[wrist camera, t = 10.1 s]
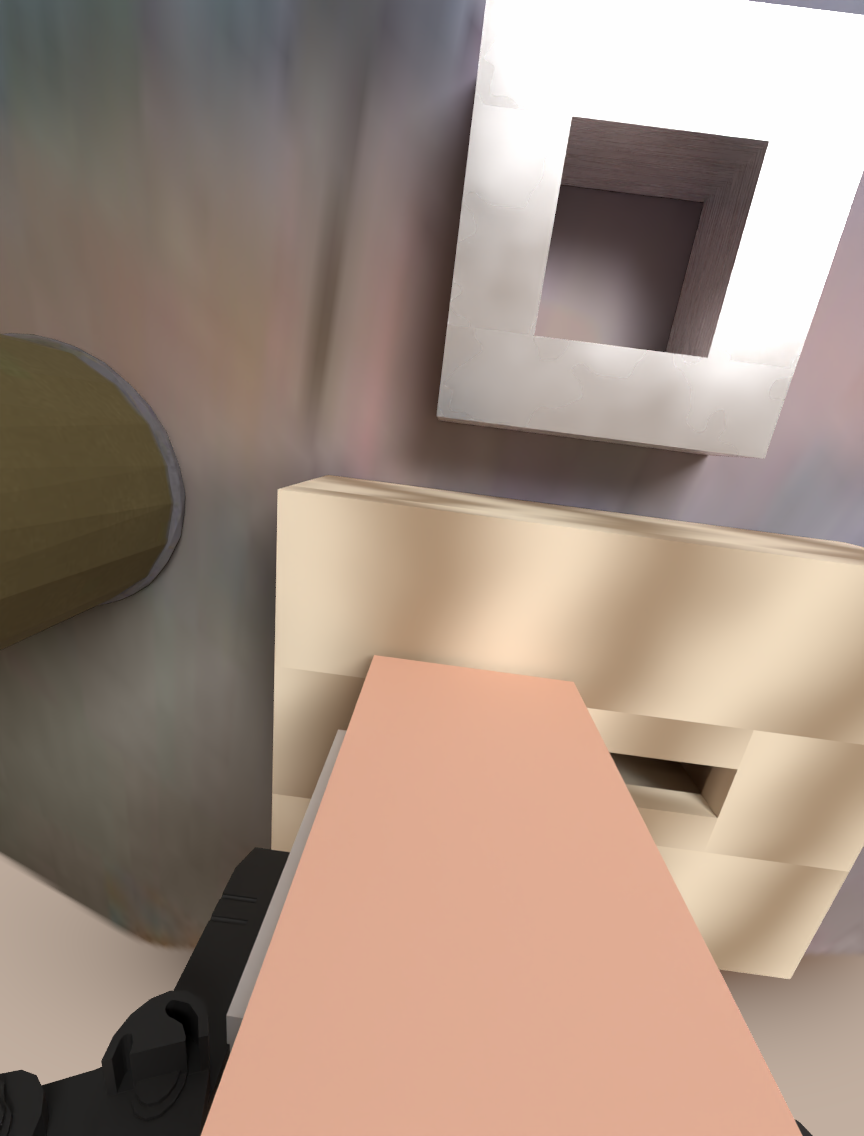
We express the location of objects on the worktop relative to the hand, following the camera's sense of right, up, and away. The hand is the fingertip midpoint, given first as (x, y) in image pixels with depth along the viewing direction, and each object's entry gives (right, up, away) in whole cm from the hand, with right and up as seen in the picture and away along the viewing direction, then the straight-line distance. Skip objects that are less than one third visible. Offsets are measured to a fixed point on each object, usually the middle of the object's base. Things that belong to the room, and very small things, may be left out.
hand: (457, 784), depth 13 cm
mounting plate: (+4, +1, +6) cm, 7 cm away
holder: (+5, +16, +1) cm, 17 cm away
